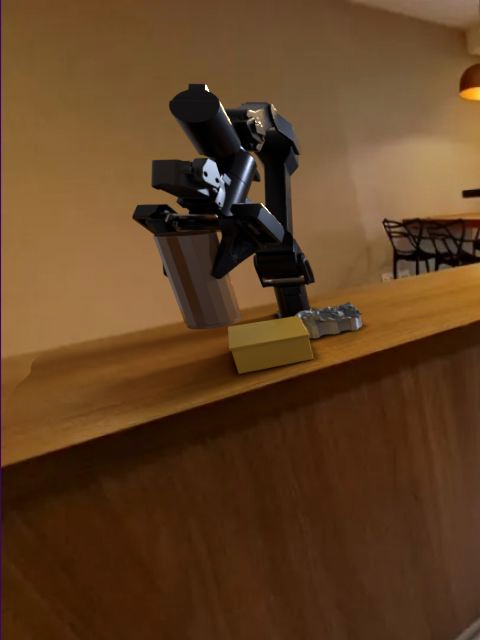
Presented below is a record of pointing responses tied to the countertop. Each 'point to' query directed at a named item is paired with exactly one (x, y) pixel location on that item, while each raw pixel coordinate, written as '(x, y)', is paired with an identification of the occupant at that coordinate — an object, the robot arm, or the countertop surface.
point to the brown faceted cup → (198, 279)
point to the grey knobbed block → (331, 320)
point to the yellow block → (269, 344)
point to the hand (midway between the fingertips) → (191, 277)
